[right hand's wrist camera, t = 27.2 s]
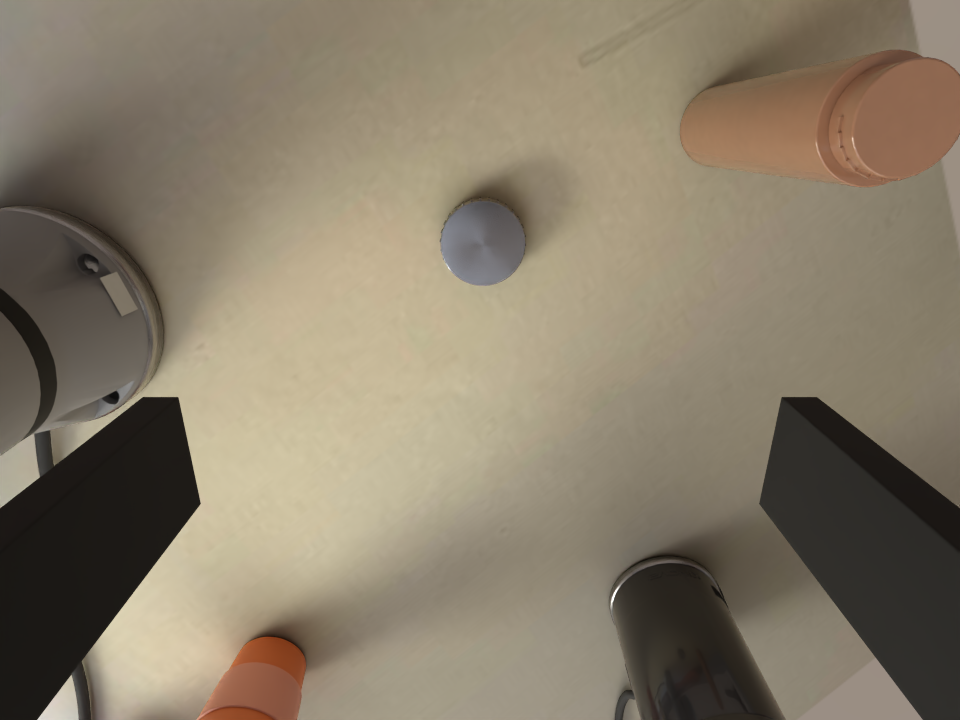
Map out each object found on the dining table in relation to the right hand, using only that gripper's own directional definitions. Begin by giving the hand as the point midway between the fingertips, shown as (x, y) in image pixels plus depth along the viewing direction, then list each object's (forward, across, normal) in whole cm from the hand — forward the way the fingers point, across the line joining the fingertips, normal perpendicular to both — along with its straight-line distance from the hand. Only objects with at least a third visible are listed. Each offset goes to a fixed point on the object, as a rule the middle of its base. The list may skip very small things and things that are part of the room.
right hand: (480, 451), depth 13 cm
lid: (+27, 0, 0) cm, 27 cm away
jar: (+28, +15, +7) cm, 33 cm away
